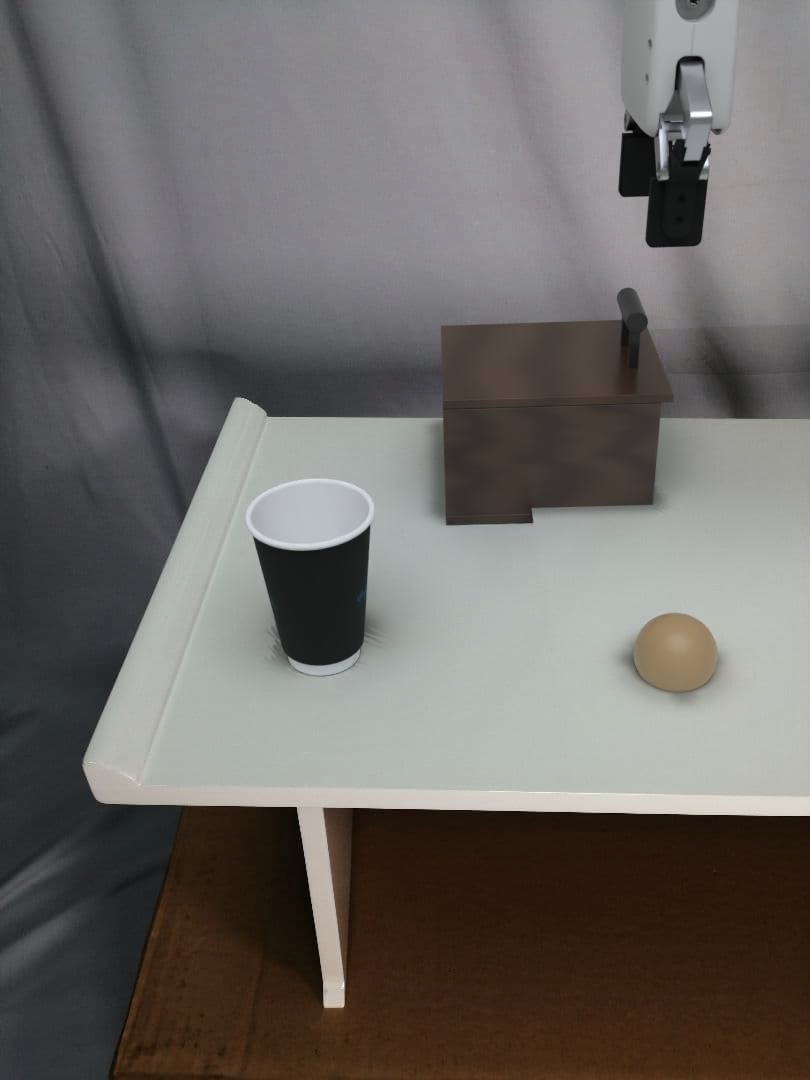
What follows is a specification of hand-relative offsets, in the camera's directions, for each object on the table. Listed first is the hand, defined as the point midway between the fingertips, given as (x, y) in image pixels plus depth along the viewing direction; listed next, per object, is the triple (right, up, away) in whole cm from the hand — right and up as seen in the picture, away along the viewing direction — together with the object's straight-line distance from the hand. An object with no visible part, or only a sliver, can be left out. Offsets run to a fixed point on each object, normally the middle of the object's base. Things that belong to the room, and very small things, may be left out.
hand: (656, 218), depth 73 cm
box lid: (-5, -7, +16) cm, 18 cm away
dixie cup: (-21, -28, +4) cm, 35 cm away
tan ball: (+1, -29, 0) cm, 29 cm away
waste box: (-5, -15, +22) cm, 27 cm away
